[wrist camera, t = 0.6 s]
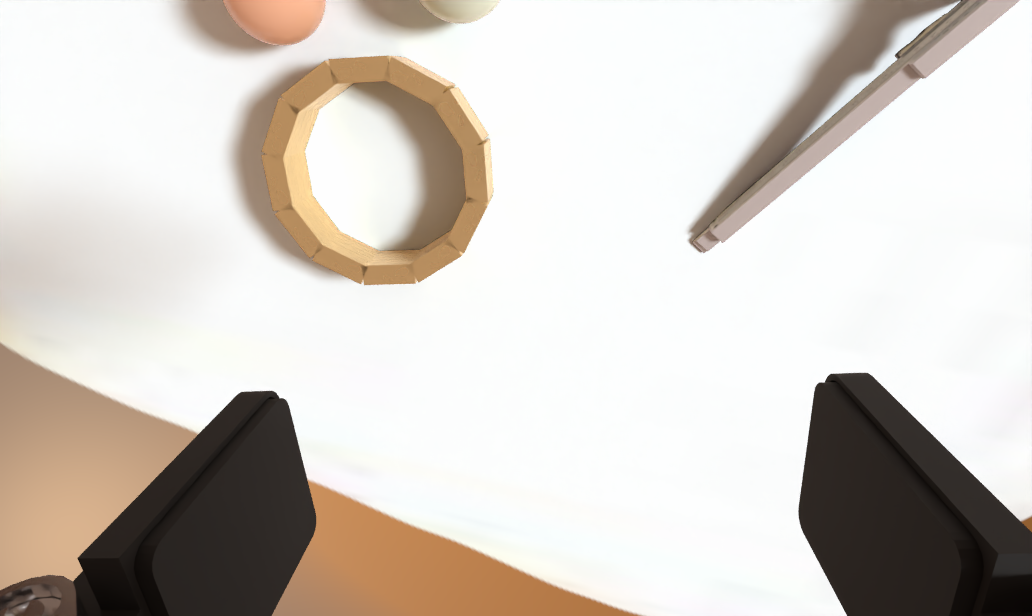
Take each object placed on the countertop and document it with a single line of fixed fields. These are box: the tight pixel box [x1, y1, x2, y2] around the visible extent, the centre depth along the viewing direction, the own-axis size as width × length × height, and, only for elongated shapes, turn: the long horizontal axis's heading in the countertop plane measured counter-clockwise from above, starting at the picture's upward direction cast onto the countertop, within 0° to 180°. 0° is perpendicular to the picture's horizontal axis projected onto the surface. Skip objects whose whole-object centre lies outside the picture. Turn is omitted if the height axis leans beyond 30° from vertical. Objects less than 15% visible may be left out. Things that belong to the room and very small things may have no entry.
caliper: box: [692, 0, 1020, 253], centre depth 30 cm, size 20×1×6 cm, turn 140°
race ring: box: [261, 56, 493, 285], centre depth 34 cm, size 12×12×3 cm
